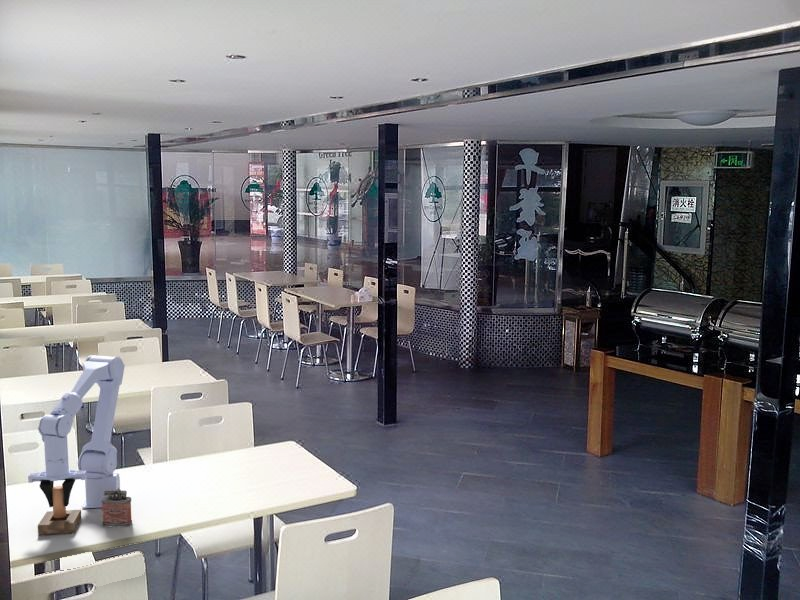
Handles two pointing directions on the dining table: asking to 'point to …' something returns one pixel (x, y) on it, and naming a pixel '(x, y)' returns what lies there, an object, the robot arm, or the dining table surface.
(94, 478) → the robot arm
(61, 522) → the hole block
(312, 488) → the dining table surface
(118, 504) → the lighter
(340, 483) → the dining table surface
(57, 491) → the pin
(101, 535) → the dining table surface
